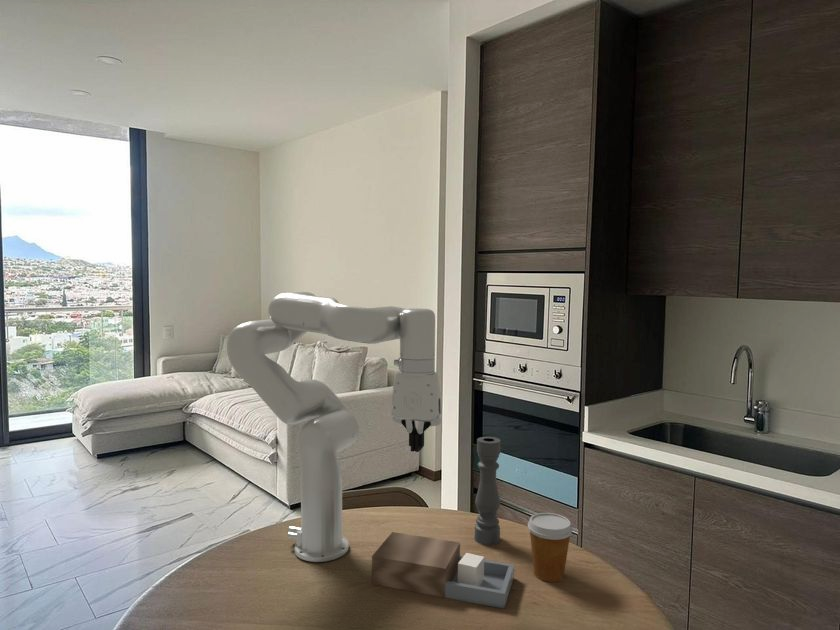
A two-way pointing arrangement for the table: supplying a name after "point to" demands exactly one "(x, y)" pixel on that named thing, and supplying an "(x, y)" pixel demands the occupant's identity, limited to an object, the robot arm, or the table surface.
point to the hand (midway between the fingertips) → (416, 449)
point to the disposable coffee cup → (549, 545)
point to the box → (485, 586)
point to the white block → (471, 569)
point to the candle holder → (487, 492)
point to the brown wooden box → (415, 563)
